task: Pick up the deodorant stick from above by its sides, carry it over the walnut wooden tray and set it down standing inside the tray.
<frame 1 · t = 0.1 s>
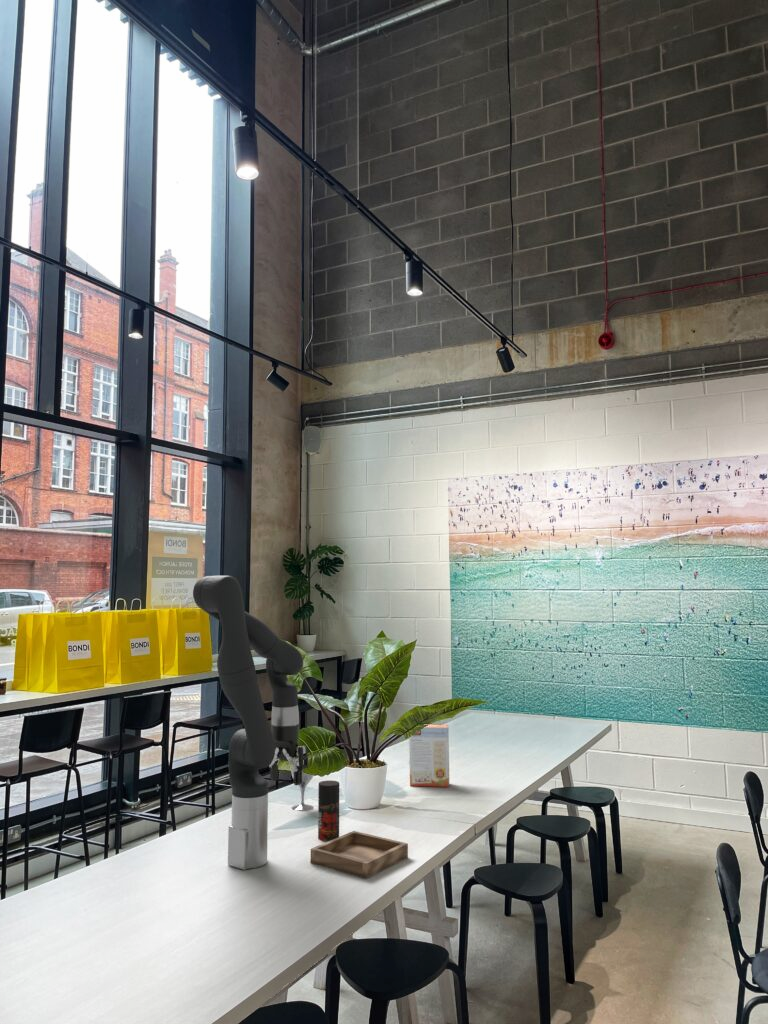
hand: (286, 782, 206), 17 cm above the table, tool pointing down, fingers open, 8 cm apart
wine glass: (302, 808, 243), on the table
cracker box: (429, 785, 271), on the table
tray: (359, 860, 195), on the table
deodorant: (328, 838, 213), on the table
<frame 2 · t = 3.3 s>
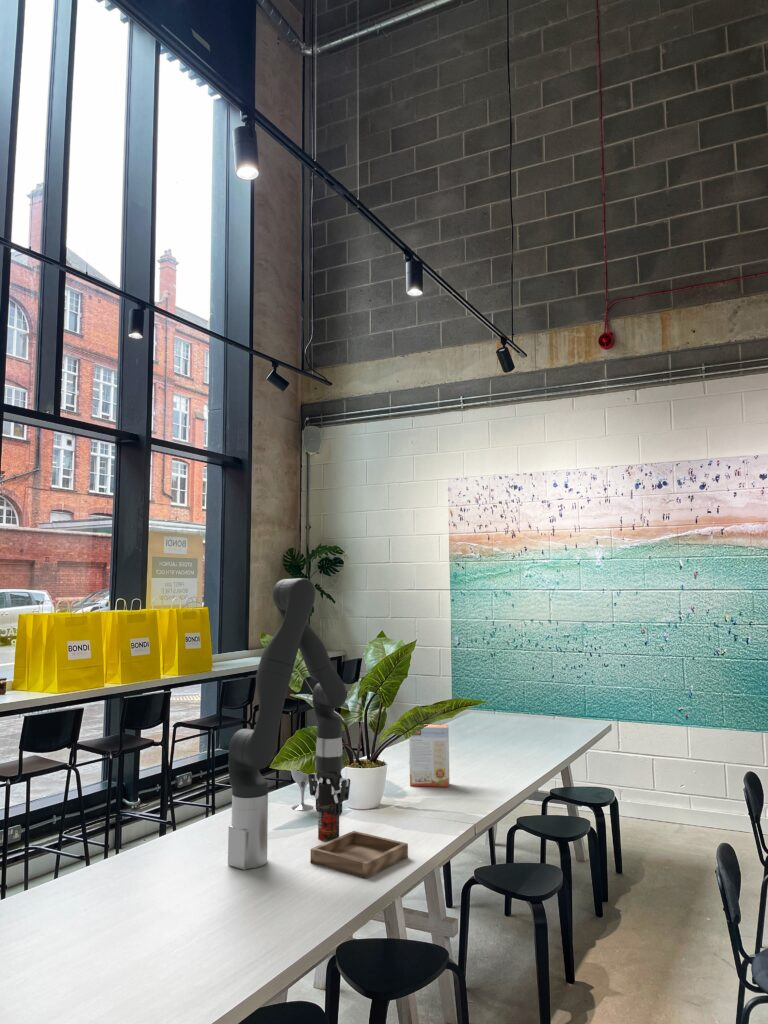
hand: (328, 813, 214), 7 cm above the table, tool pointing down, fingers closed on deodorant, 6 cm apart
deodorant: (328, 838, 213), on the table, touching gripper
everything else where it was.
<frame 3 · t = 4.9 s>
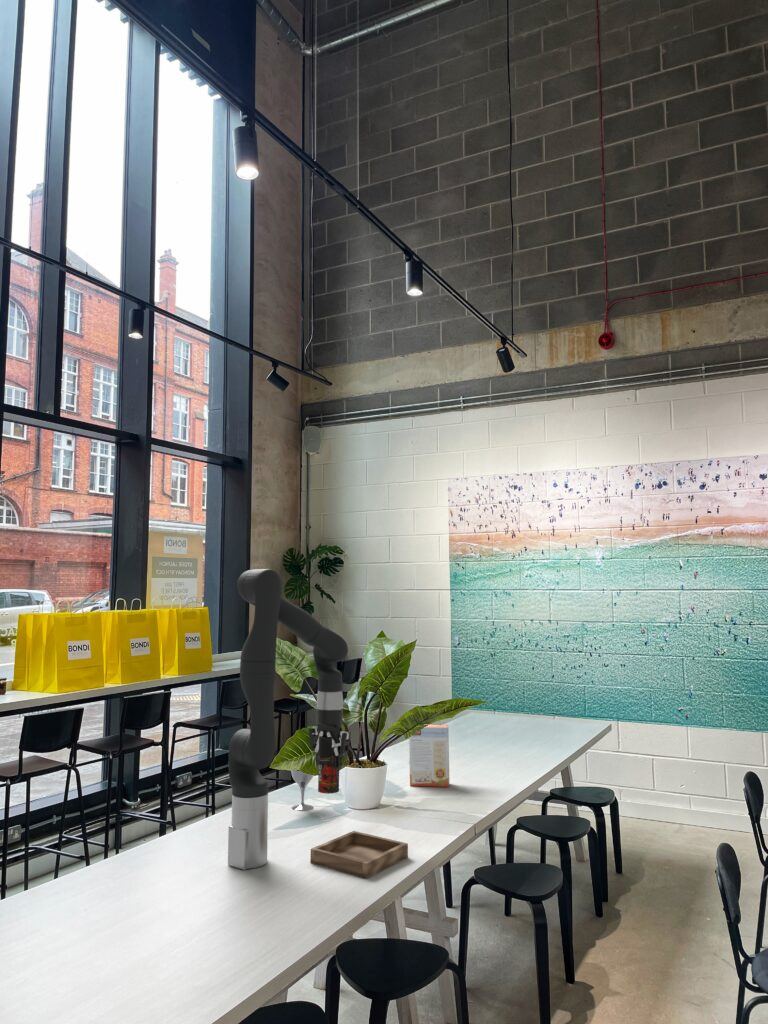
hand: (328, 766, 215), 19 cm above the table, tool pointing down, fingers closed on deodorant, 6 cm apart
deodorant: (328, 791, 214), point 13 cm above the table, touching gripper
everything else where it was.
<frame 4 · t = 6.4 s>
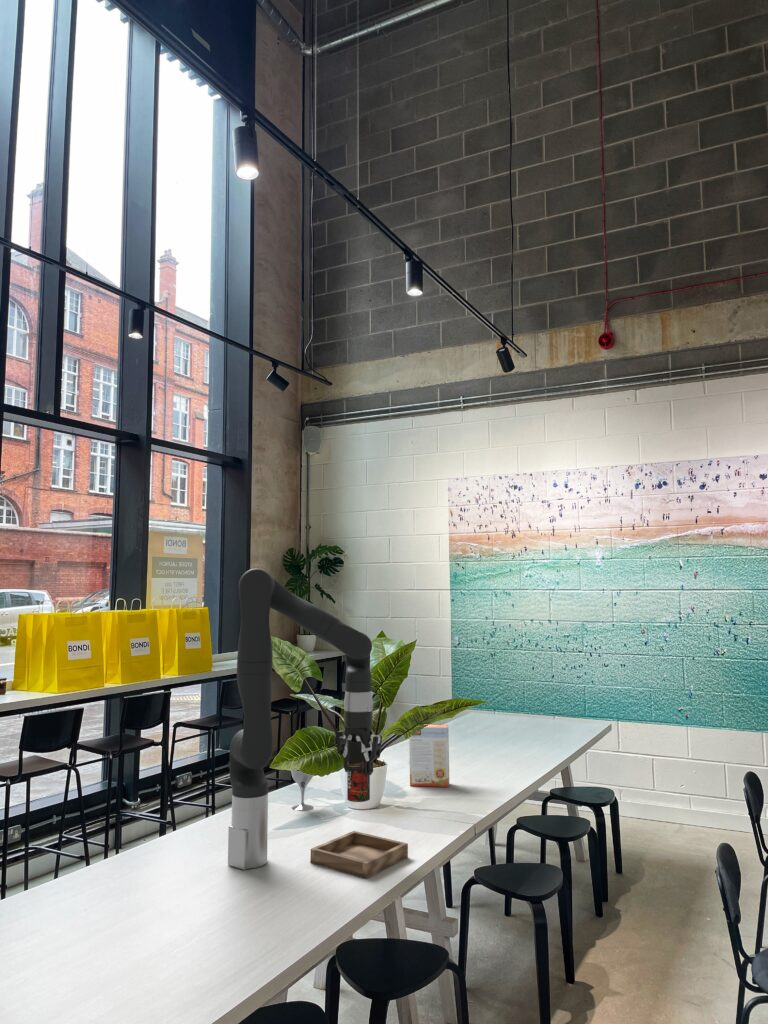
hand: (358, 773, 199), 22 cm above the table, tool pointing down, fingers closed on deodorant, 6 cm apart
deodorant: (358, 799, 198), point 15 cm above the table, touching gripper
everything else where it was.
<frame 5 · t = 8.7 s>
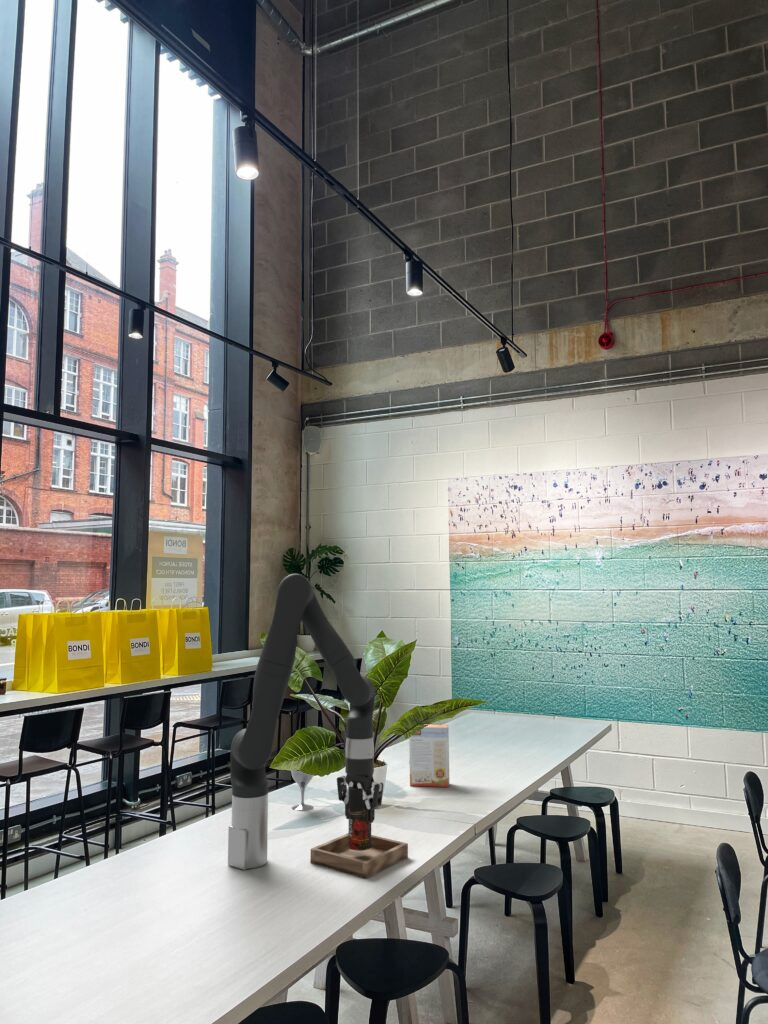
hand: (359, 820, 197), 10 cm above the table, tool pointing down, fingers closed on deodorant, 6 cm apart
deodorant: (359, 847, 196), point 3 cm above the table, touching gripper
everything else where it was.
when the fingers open (9 cm above the table, at t = 9.9 s): deodorant drops 2 cm, resting on tray.
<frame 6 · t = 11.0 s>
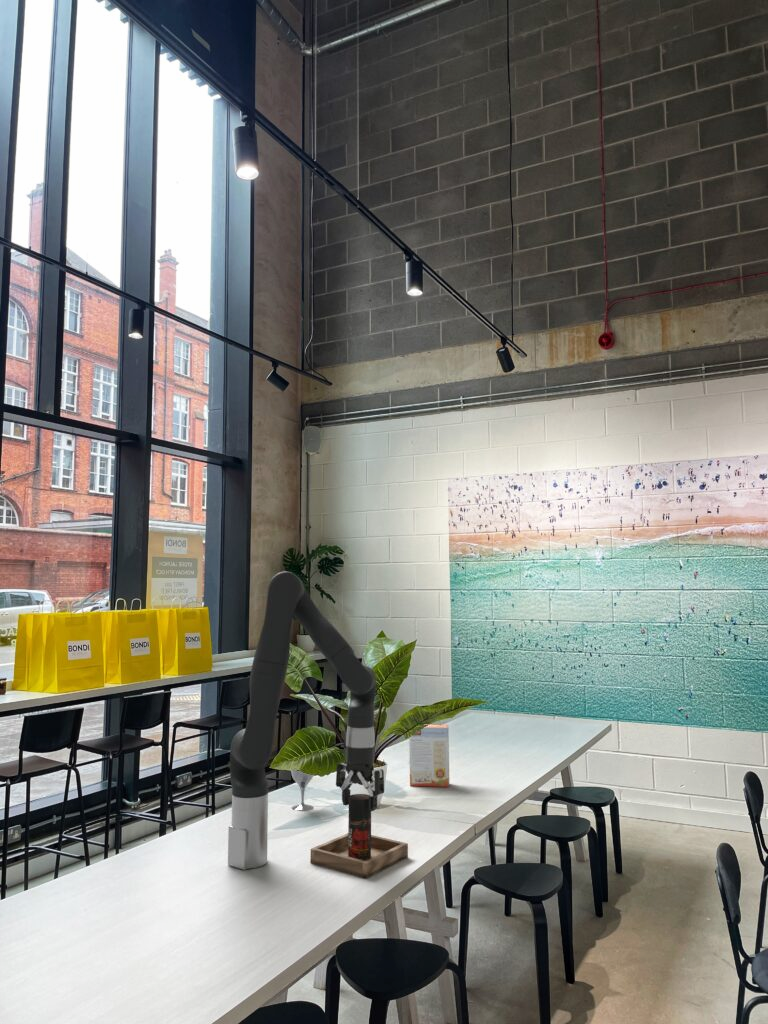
hand: (359, 807, 196), 13 cm above the table, tool pointing down, fingers open, 8 cm apart
deodorant: (359, 857, 196), point 1 cm above the table, touching tray
everything else where it was.
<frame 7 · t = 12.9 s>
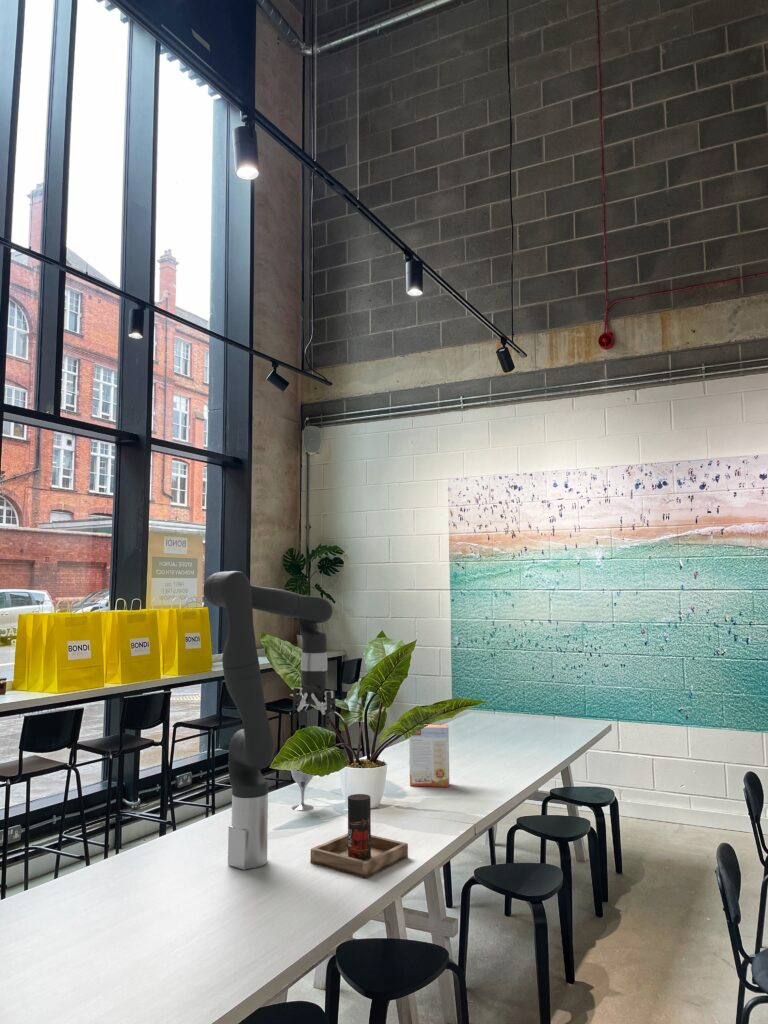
hand: (313, 726, 214), 31 cm above the table, tool pointing down, fingers open, 8 cm apart
nothing on the table moved.
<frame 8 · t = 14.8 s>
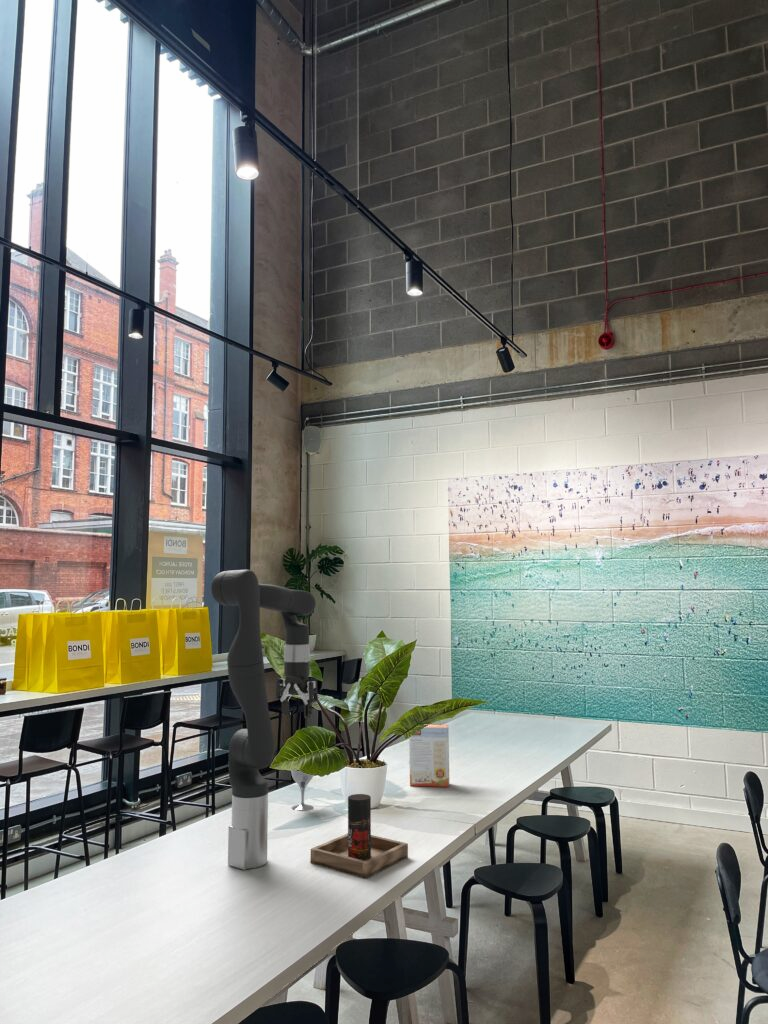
hand: (296, 716, 220), 33 cm above the table, tool pointing down, fingers open, 8 cm apart
nothing on the table moved.
at the end: deodorant inside the target area on the tray (0.1 cm from its centre), point 0.6 cm above the tray's base; deodorant tilted 0°; the gripper is holding nothing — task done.
